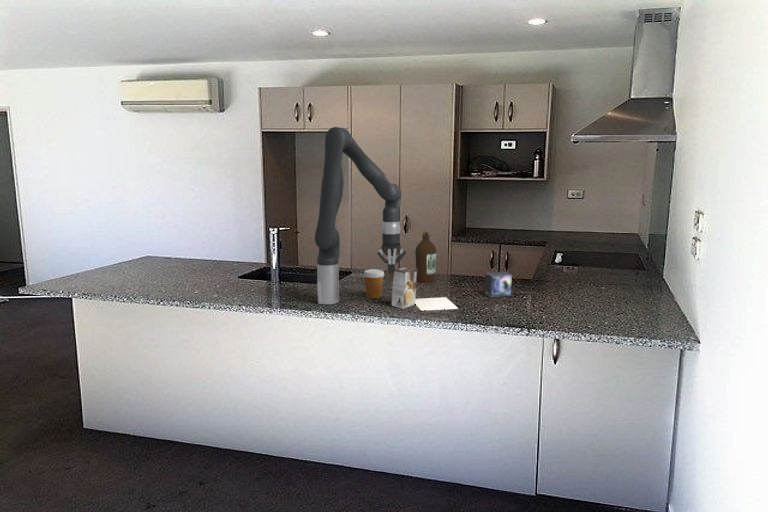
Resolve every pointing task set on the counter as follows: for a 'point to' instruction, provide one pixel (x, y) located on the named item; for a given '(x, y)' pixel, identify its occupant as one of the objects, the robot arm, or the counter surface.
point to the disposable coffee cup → (373, 282)
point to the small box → (498, 284)
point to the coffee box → (404, 287)
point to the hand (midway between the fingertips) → (391, 272)
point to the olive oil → (425, 260)
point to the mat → (434, 304)
